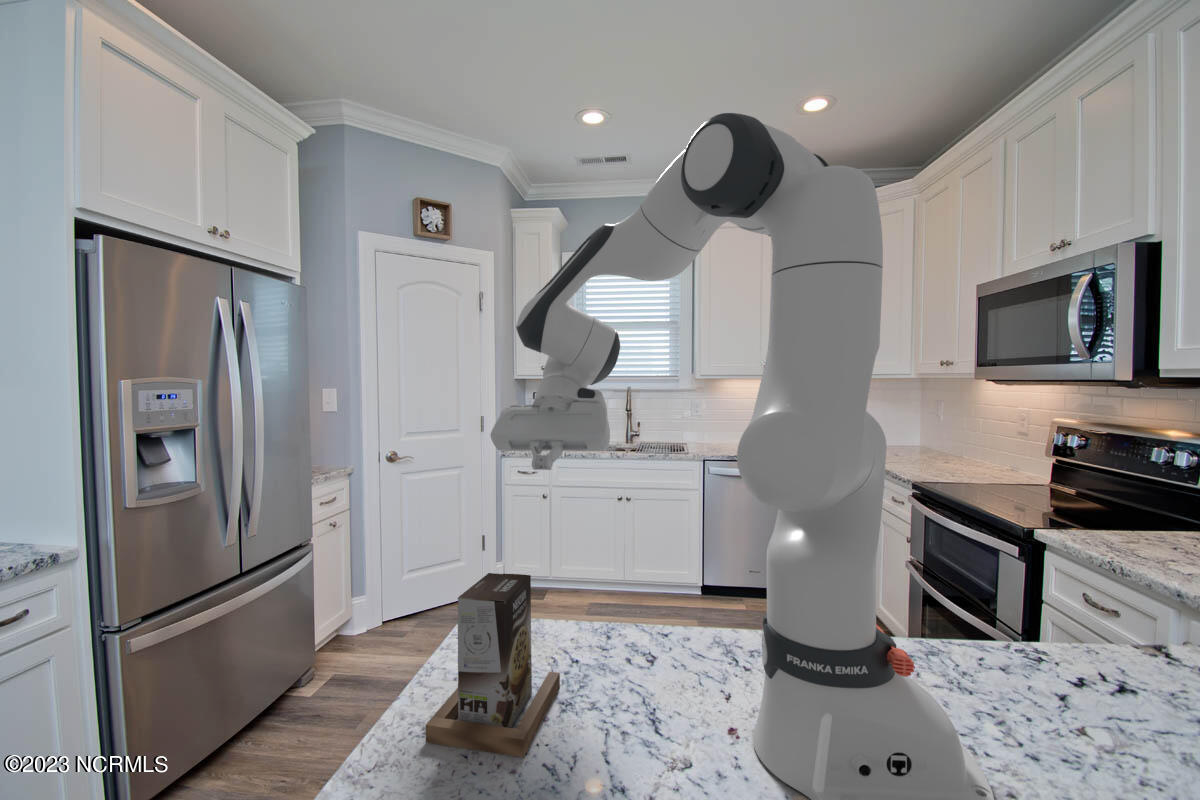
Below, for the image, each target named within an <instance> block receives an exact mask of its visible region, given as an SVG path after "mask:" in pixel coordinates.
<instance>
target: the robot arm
mask: <svg viewBox="0 0 1200 800" xmlns="http://www.w3.org/2000/svg"><path fill="white" fill-rule="evenodd" d="M880 211H881V210H880V206H879V200H878V196H877V190H876V187H875V184H874V182H873V180H872V178H871V177H870V176H869V175H868V174H866V173H865V172H864V171H862V170H860V169H858V168H856V167H852V166H848V165H847V166H846V165H829V163H827V161H826V160H825V159H824V158H822V157H821V156H820V155H817V154H816V153H813V152H812V151H810V149H808V148H807V147H805V146H804V145H803V144H801V143H800V142H798V141H797V140H796V139H795V138H794V137H793V136H792V135H790V134H788V133H786V132H784V131H783V130H780V129H777V128H775V127H773V126H770V125H768V124H765V123H763V122H761V121H760V120H759V119H758V118H756V117H753V116H751V115H746V114H742V113H736V112H735V113H734V112H725V113H724V112H722V113H719V114H716V115H713V116H711V117H710V118H708V119H707V120H706V121H705V122H703V123H702V124H701V125H700V126H699V127H698V128H697V130H696V131H695V132H694V133H693V135H692V136H691V138H690V140H689V142H688V143H687V146H686V148H685V149H684V150H683V151H681V153H680V154H679V155H678V156H677V157H676V158H675V159H674V160H673V161H672V162H671V163H670V164H669V165H668V166H667V168H665V170H664V171H663V173H662V174H661V175H660V176H659V178H657V180H656V181H655V182H654V184H653V186H652V187H651V188H650V190H649V191H648V192H647V194H646V195H645V197H644V198H643V200H642V201H641V203H640V205H639V206H638V207H637V208H636V210H634V212H633V213H632V214H631V215H629V216H628V217H627V218H624V219H623V220H621V221H618V222H617V223H614V224H613V223H611V224H610V223H604V224H602V225H601V226H599V227H598V228H597V229H596V230H595V231H593V232H592V233H591V234H590V235H589V236H588V237H587V238H586V239H585V240H584V242H583V243H582V244H580V245H579V247H578V248H577V249H576V250H575V252H573V254H572V255H570V257H569V258H568V259H567V260H566V262H564V264H563V265H562V266H561V267H560V268H559V270H558V271H556V273H555V274H554V275H553V276H552V277H551V279H550V280H549V281H548V282H547V283H546V284H545V285H544V286H543V287H542V288H541V290H539V291H538V292H537V293H536V294H535V295H534V296H533V297H532V298H531V299H530V300H528V302H527V303H526V304H525V305H524V306H523V308H522V309H521V311H520V313H519V316H518V319H517V323H516V327H515V328H516V332H517V335H518V337H519V339H520V341H521V343H522V345H523V346H524V347H525V348H527V349H530V350H533V351H535V352H538V353H540V354H544V355H545V356H548V358H547V359H546V362H545V366H544V368H543V372H542V379H541V380H540V382H539V383H538V386H537V389H536V393H535V396H534V399H533V401H532V404H524V405H518V404H513V405H510V406H509V407H506V408H505V409H502V410H501V412H500V414H499V416H498V418H497V420H496V421H495V424H494V425H493V427H492V430H491V432H490V434H489V435H490V440H491V442H492V444H493V445H494V447H495V448H496V450H498V451H502V452H503V451H505V452H506V451H508V452H509V451H510V452H511V451H513V452H516V451H519V452H521V451H524V452H525V451H527V452H531V454H532V461H531V467H532V470H533V471H534V470H535V471H536V470H538V471H540V470H542V471H551V470H552V468H553V465H554V463H555V462H556V461H557V460H558V459H559V458H560V457H561V456H562V455H563V452H588V451H589V452H603V451H605V450H606V449H608V447H609V446H610V438H611V432H610V429H611V428H610V424H609V420H608V407H607V404H606V403H607V402H606V401H605V400H606V399H605V397H604V395H603V392H602V391H601V390H598V389H592V388H588V386H593V385H596V384H598V383H600V382H602V381H604V380H605V379H606V378H607V377H608V376H609V375H610V374H611V373H612V372H613V370H614V369H615V366H616V364H617V362H618V358H619V356H620V351H621V342H620V336H619V334H618V333H619V332H618V331H617V330H616V329H615V328H613V327H612V326H610V325H609V324H607V323H605V322H604V321H601V320H599V319H598V318H596V317H593V316H591V315H590V314H587V313H585V312H584V311H582V310H580V309H578V308H576V307H574V306H573V305H570V304H569V303H568V301H570V300H571V298H572V297H573V296H575V294H576V293H577V292H578V291H579V290H581V288H582V287H583V285H585V284H586V282H587V281H589V280H590V279H592V278H594V277H598V276H603V275H604V276H605V275H606V276H608V275H609V276H617V277H619V276H620V277H626V278H631V279H635V280H640V281H647V282H658V281H659V282H660V281H665V280H669V279H672V278H675V277H677V276H678V275H680V274H681V273H682V272H684V271H685V270H686V269H687V268H688V267H689V266H690V265H691V264H692V262H693V261H694V260H695V259H696V258H697V257H698V255H700V253H701V251H702V250H703V249H704V248H705V246H706V245H707V243H708V242H709V241H710V239H711V238H712V236H713V235H714V234H715V233H716V231H717V230H718V229H719V228H720V227H721V226H723V225H724V224H725V223H731V224H733V225H735V226H737V227H738V228H740V229H742V230H745V231H748V232H751V233H754V234H755V233H756V234H761V235H766V236H768V237H770V238H771V244H772V245H771V247H772V251H771V252H772V253H771V254H772V255H771V256H772V257H771V258H772V260H771V274H770V275H771V277H770V278H771V279H770V302H769V303H770V306H769V312H770V313H769V326H768V327H769V333H768V345H767V351H766V356H765V362H764V366H763V367H764V368H763V371H762V375H761V379H760V383H759V386H758V392H757V397H756V401H755V403H754V404H755V405H754V408H753V412H752V416H751V419H750V422H749V423H748V425H747V427H746V428H745V430H744V431H743V433H742V435H741V437H740V438H739V439H740V440H739V441H738V446H737V451H736V463H737V467H738V468H737V469H738V472H739V475H740V477H741V480H742V482H743V484H744V485H745V487H746V488H747V490H748V491H749V492H750V493H751V494H752V495H753V496H754V497H755V498H756V499H757V500H758V501H759V502H761V503H763V504H765V505H766V506H768V507H771V508H773V509H777V510H778V511H777V515H776V519H775V524H774V528H773V532H772V534H771V537H770V540H769V541H768V543H767V550H766V614H765V615H764V616H763V619H762V629H761V657H762V658H761V662H762V665H763V670H764V678H763V679H764V680H763V689H762V695H761V701H760V707H759V711H758V715H757V716H758V717H757V720H756V723H755V726H754V729H753V732H752V744H753V748H754V750H755V753H756V755H757V756H758V758H759V760H761V762H762V763H763V765H764V766H765V767H766V768H767V769H768V770H769V771H770V772H771V773H772V774H773V775H774V776H775V777H776V778H778V779H779V780H781V781H782V782H784V783H785V784H787V785H788V786H790V787H791V788H793V789H795V790H797V791H798V792H800V793H802V794H803V795H805V796H806V797H807V798H808V799H810V800H995V797H994V793H993V790H992V787H991V785H990V783H989V781H988V778H987V777H986V775H985V774H984V773H983V771H982V769H981V768H980V766H979V765H978V764H977V762H976V761H975V759H974V758H973V757H972V756H971V754H970V753H968V751H967V750H966V749H965V748H964V747H963V746H962V744H961V741H960V738H959V734H958V733H957V730H956V728H955V726H954V724H953V722H952V720H951V718H950V716H948V713H946V711H945V709H943V707H942V706H941V705H940V703H939V702H938V701H937V700H936V699H935V698H934V697H933V696H932V694H930V693H929V692H928V691H927V690H926V689H925V688H923V687H922V686H921V685H919V683H917V682H916V681H914V680H913V679H912V678H910V676H911V675H912V674H913V673H915V669H916V666H915V663H914V661H913V659H912V658H911V657H910V656H909V655H908V653H907V651H905V650H903V649H902V648H898V647H897V644H896V642H895V641H894V639H893V638H892V637H891V636H889V635H888V634H886V633H885V632H884V630H883V628H881V627H880V626H878V625H877V558H878V557H877V556H878V548H879V547H878V546H879V539H880V531H881V521H882V514H883V513H882V512H883V502H884V492H885V490H884V489H885V477H886V476H885V475H886V459H887V458H886V457H887V439H886V438H887V437H886V435H885V432H884V429H882V428H883V427H882V426H881V425H880V423H879V422H878V421H877V420H876V418H875V417H874V416H873V415H872V414H871V413H869V412H868V411H867V407H868V399H869V393H870V387H871V381H872V376H873V372H874V366H875V362H876V358H877V355H878V351H879V348H880V346H881V345H880V344H881V316H882V315H881V314H882V299H883V298H882V296H883V295H882V294H883V293H882V292H883V269H884V268H883V266H884V265H883V264H884V263H883V262H884V257H883V256H884V251H883V249H884V247H883V231H882V220H881V213H880ZM542 451H544V452H545V451H546V452H548V451H549V452H548V453H547V455H546V454H545V455H541V454H542Z"/></svg>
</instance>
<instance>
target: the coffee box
mask: <svg viewBox="0 0 1200 800" xmlns="http://www.w3.org/2000/svg"><path fill="white" fill-rule="evenodd" d="M531 578H532V575H531V574H522V573H521V574H520V573H494V572H492V573H491V572H489V573H487V574H486V575H484V576H483V577H482V578H480V580H478V581H477V582H476V583H474V584H473V585H472V586H470V587H469V588H468V589H467V590H466V591H464V592H463V593H462V594H460V595H459V596H458V597H457V685H458V686H457V688H458V718H457V720H459V721H465V722H472V723H479V724H486V725H493V726H500V727H506V728H512V727H513V725H514V723H515V722H516V720H517V719H518V717H519V715H520V713H521V712H522V711H523V710H524V707H525V705H526V703H528V700H529V699H530V697H531V696H532V693H533V691H532V690H533V684H532V683H533V682H532V681H533V679H532V678H533V675H532V673H533V672H532V671H533V670H532V667H533V666H532V664H533V663H532V600H531V599H532V593H531V592H532V589H531V586H532V585H531V584H532V583H531V582H532V581H531V580H532V579H531Z"/></svg>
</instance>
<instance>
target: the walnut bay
mask: <svg viewBox="0 0 1200 800" xmlns="http://www.w3.org/2000/svg"><path fill="white" fill-rule="evenodd" d="M560 675H561V674H560V672H557V671H556V672H555V671H548V672H547V675H546V676H545V678H544V679H543V681H542V683H541V685H540V687H539V689H538V690H537V692H536V693H535V695H534V697H533V698H532V700H531V702H530V704H529V705H528V707H527V708H526V711H525V712H524V714H523V716H522V717H521V718H520V721H519V722H518V724H517V726H516V728H512V727H511V728H506V727H500V726H493V725H486V724H479V723H472V722H465V721H459V720H458V687H457V688H456V689H455V690H454V692H452V693H451V694H450V695H449V697H448V699H446V701H444V703H443V704H442V705H441V706H440V707H439V709H438V710H437V711H436V712H435V713H434V714H433V716H432V717H431V718H430V719H429V720H428V721H427V722H426V724H425V743H428V744H435V745H442V746H449V747H454V748H455V747H456V748H461V749H465V750H466V749H468V750H471V751H472V750H473V751H479V752H486V753H492V754H500V755H506V756H510V755H511V756H512V757H516V756H517V758H524V757H525V756H526V754H527V752H528V750H529V748H530V746H531V744H532V742H533V740H534V738H535V736H536V734H537V733H538V731H539V729H540V726H541V725H542V723H543V721H544V719H545V717H546V715H547V713H548V712H549V709H550V707H551V706H552V704H553V702H554V700H555V698H556V695H557V694H558V692H559V690H560V687H561V680H560V679H561V676H560Z"/></svg>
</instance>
